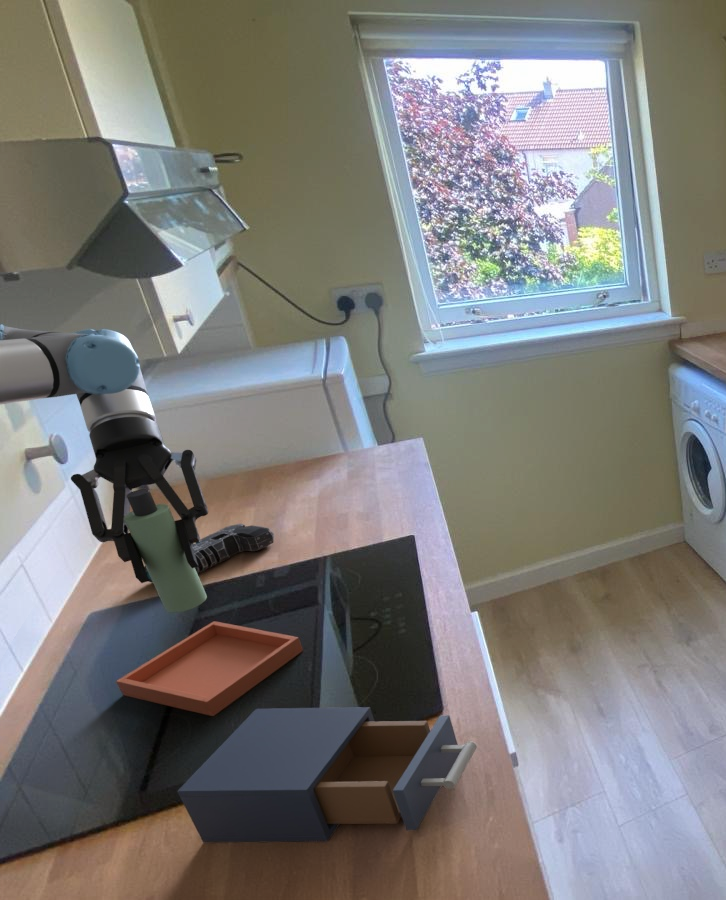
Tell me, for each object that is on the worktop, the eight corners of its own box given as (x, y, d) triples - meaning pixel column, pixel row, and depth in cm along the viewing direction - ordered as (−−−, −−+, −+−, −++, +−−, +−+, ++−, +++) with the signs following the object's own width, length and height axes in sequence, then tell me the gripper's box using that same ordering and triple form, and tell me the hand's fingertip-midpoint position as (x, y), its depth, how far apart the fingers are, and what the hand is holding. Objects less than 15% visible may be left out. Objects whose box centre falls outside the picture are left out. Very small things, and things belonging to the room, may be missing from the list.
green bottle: (158, 608, 105) (107, 497, 98) (195, 590, 109) (149, 482, 102) (177, 616, 103) (126, 503, 96) (214, 598, 107) (167, 488, 100)
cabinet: (386, 755, 95) (370, 707, 92) (327, 841, 84) (306, 789, 80) (276, 756, 95) (255, 708, 92) (202, 842, 84) (176, 791, 81)
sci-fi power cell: (273, 525, 145) (240, 517, 148) (166, 576, 129) (132, 566, 132) (280, 543, 146) (248, 535, 150) (175, 596, 130) (142, 585, 134)
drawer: (491, 752, 94) (481, 714, 91) (452, 830, 83) (439, 790, 81) (356, 753, 94) (343, 716, 92) (300, 831, 84) (283, 791, 81)
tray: (122, 695, 107) (115, 681, 106) (219, 634, 120) (213, 620, 119) (213, 716, 102) (206, 702, 101) (303, 650, 115) (298, 637, 114)
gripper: (205, 424, 114) (250, 557, 109) (49, 456, 104) (91, 604, 98) (194, 400, 108) (241, 540, 103) (28, 432, 98) (71, 588, 93)
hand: (168, 571), depth 101 cm, fingers closed on green bottle, 5 cm apart
